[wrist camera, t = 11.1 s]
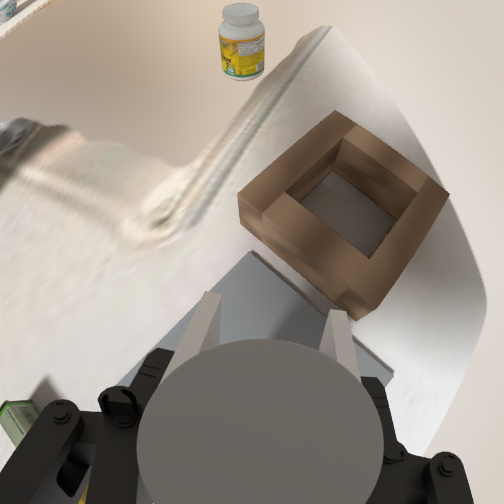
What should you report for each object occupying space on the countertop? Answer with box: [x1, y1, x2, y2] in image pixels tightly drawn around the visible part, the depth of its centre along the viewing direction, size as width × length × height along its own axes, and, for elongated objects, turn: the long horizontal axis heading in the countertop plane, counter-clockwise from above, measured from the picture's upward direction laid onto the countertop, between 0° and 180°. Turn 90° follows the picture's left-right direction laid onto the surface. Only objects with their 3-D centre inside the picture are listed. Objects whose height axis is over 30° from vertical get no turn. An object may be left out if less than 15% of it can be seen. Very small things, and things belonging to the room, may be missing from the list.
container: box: [137, 339, 384, 504], centre depth 12 cm, size 5×5×15 cm
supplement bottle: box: [219, 3, 264, 81], centre depth 33 cm, size 5×5×10 cm
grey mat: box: [116, 252, 394, 388], centre depth 23 cm, size 16×16×1 cm
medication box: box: [0, 400, 89, 504], centre depth 19 cm, size 12×3×4 cm, turn 49°
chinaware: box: [0, 0, 18, 25], centre depth 58 cm, size 15×15×8 cm
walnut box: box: [237, 110, 450, 321], centre depth 26 cm, size 13×13×5 cm
